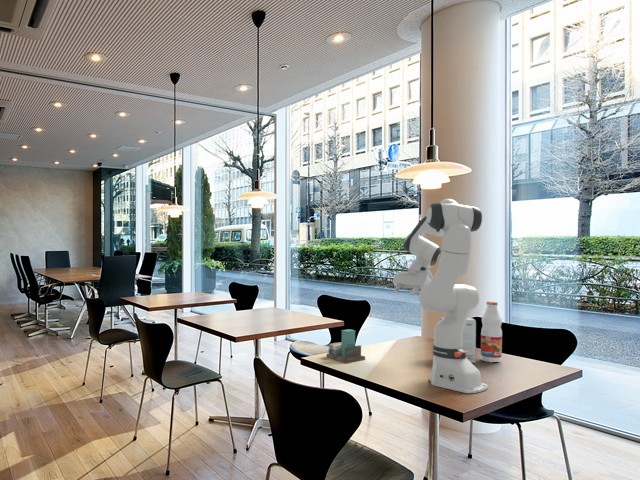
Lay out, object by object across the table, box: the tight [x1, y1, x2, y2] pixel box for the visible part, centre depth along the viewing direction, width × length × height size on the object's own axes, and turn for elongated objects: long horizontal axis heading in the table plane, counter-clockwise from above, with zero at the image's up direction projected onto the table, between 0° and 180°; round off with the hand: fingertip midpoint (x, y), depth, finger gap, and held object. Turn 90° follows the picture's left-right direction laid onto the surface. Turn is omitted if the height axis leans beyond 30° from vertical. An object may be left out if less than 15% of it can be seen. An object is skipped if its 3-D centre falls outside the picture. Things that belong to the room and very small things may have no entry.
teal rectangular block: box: [341, 328, 356, 357], centre depth 217 cm, size 4×5×12 cm
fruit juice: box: [480, 300, 503, 363], centre depth 220 cm, size 9×9×28 cm
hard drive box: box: [439, 317, 477, 364], centre depth 218 cm, size 16×8×20 cm, turn 84°
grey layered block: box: [326, 341, 366, 364], centre depth 218 cm, size 14×12×6 cm
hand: (403, 292), depth 221 cm, fingers open, 8 cm apart
